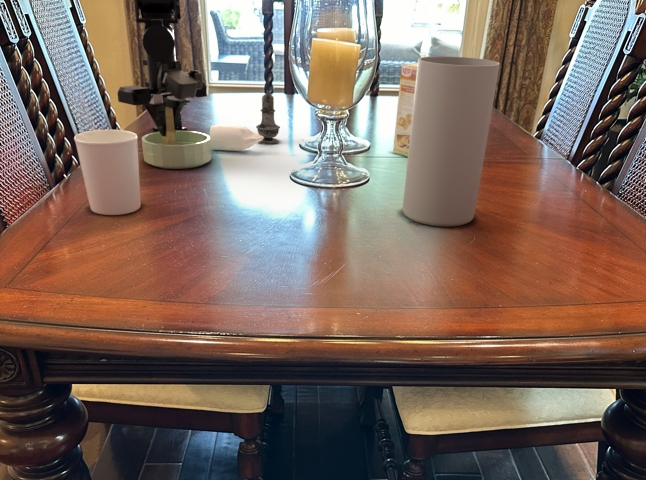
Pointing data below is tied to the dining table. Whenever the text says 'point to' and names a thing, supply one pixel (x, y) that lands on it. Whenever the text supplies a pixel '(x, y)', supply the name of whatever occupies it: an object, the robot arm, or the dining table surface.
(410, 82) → the coffeecake box
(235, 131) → the white milk carton
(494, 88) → the cylinder vase
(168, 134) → the stick
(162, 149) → the bowl
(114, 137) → the white cup
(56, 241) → the dining table surface
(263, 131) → the salt shaker
